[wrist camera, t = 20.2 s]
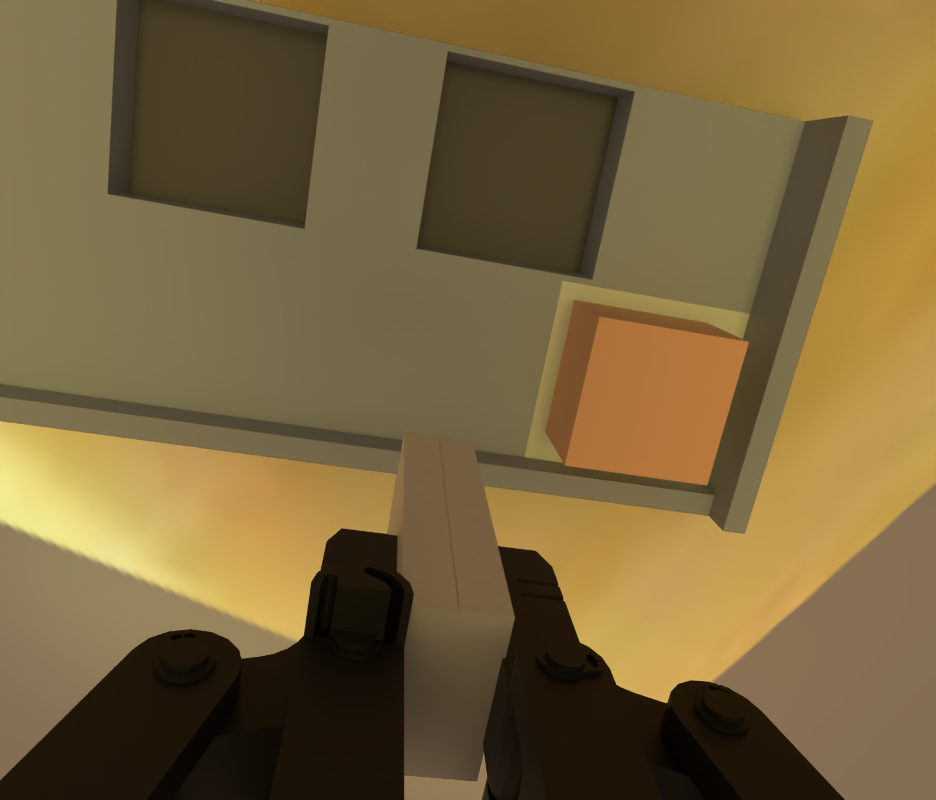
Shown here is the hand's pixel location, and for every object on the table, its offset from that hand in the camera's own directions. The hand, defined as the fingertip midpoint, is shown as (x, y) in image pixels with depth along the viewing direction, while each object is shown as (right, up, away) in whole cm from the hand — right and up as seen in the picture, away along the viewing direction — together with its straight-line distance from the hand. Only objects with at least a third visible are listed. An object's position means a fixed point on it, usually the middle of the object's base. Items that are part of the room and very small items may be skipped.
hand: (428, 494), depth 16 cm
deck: (-4, +9, +16) cm, 19 cm away
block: (+8, +3, +16) cm, 18 cm away
